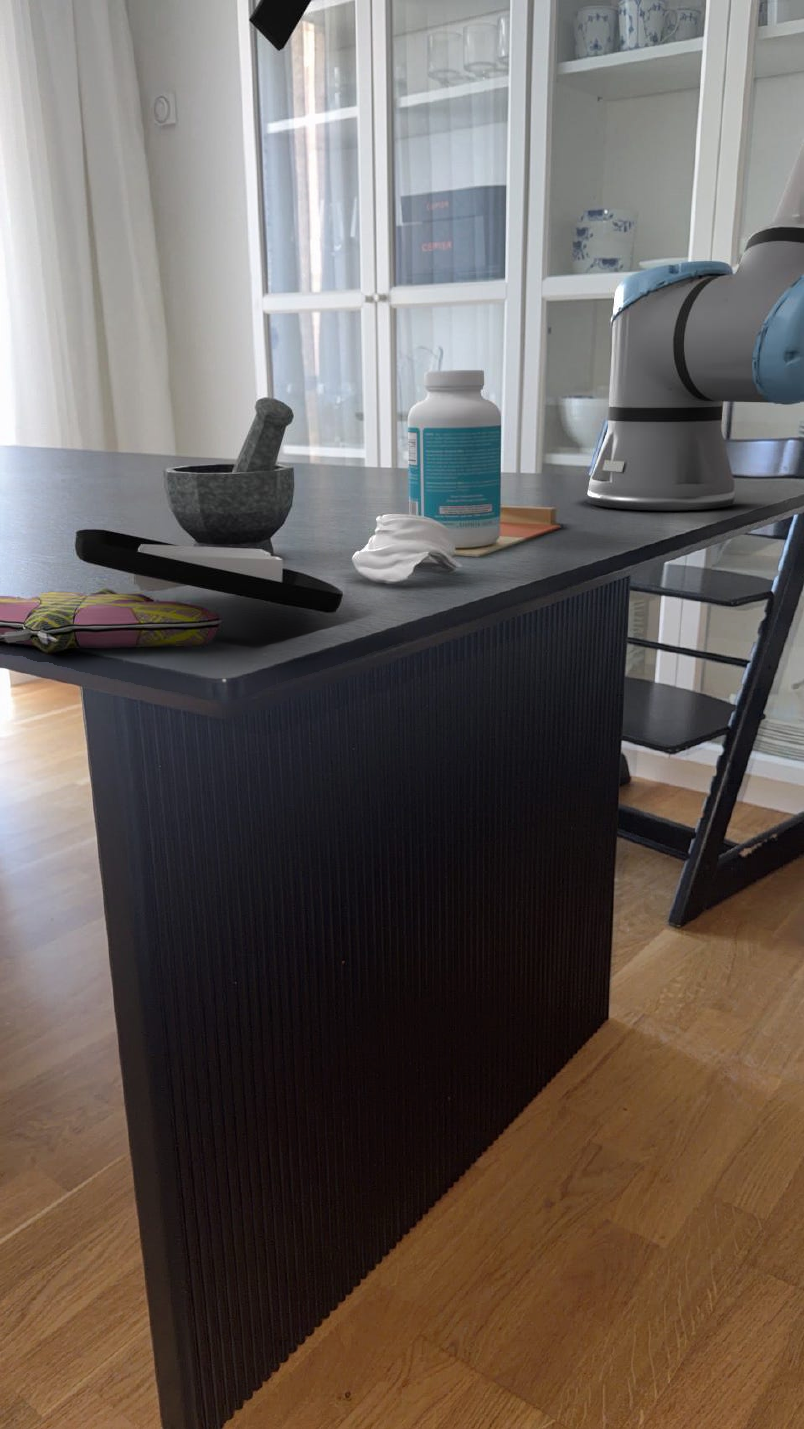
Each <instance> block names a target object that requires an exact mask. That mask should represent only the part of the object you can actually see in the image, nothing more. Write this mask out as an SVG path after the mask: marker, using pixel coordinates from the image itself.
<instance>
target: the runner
mask: <svg viewBox="0 0 804 1429" xmlns="http://www.w3.org/2000/svg"><path fill="white" fill-rule="evenodd" d="M561 528H562V525H559V524H558V525H557V524H556V525H542V524H524V523H506V522H500V537H499V539H498V540H497V541H496V542H495V543H493V544H490V545H486V546H481V547H473V548H455V554H454V555H453V556H465V557H466V556H467V557H477V558H478V557H482V556H484V555H486V554H490V553H493V552H495V551H499V550H501V549H505V548H507V547H509V546H513V545H515V544H518V543H521V542H524V541H527V540H530V539H533V538H536V537H539V536H542V535H544V534H547V533H550V532H553V531H555V530H558V529H561Z"/></svg>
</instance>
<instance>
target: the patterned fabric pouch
mask: <svg viewBox="0 0 804 1429" xmlns="http://www.w3.org/2000/svg"><path fill="white" fill-rule="evenodd" d="M221 621H222V618H220V616H219V615H217V614H215V613H214V612H213V611H212V610H209V608H206V607H203V606H201V605H196V604H191V603H185V602H179V601H168V600H157V601H156V600H154V599H153V598H151V597H149V596H147V595H145V594H140V593H117V591H115V590H113V589H110V588H103V589H99V590H97V591H95V592H92V593H90V594H86V593H79V592H73V591H55V590H54V591H46V592H43V593H40V594H37V595H35V596H32V597H30V598H24V597H18V596H11V595H0V642H3V643H4V642H5V643H8V644H17V645H25V646H32V647H37V648H38V649H39V650H41V651H42V652H44V653H48V654H49V653H59V652H62V651H65V650H68V649H117V648H118V649H119V648H123V649H124V648H145V647H147V648H148V647H150V648H151V647H192V646H200V645H201V646H202V645H204V644H208V643H209V642H211V641H212V640H213V639H214V637H215V635H216V633H217V631H218V629H219V627H220V625H221Z"/></svg>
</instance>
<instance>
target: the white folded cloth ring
mask: <svg viewBox="0 0 804 1429" xmlns="http://www.w3.org/2000/svg"><path fill="white" fill-rule="evenodd" d="M375 521H376V528H375V530H374V534H373V535H371V536H370V538H369V539H368V543H367V544H366V545H365V547H364V548H362V549H361V550H357V551H356V552H355V553H354V554H353V556H352V557H351V562H352V564H353V565H354V567H355V569H356V571H358V574H360V575H361V576H363V577H364V578H366V579H368V580H370V581H372V582H375V583H385V584H389V585H391V584H400V583H405V582H407V581H410V575H411V574H412V573H413V572H414V569H415V568H416V569H421V570H427V571H432V572H437V573H445V574H446V573H450V572H453V571H457V572H458V571H460V569H459V568H462V567H463V566H462V564H461V562H459V561H457V560H455V558H453V556H455V555H454V554H455V538H454V535H453V532H452V531H451V530H450V529H448V528H446V527H445V526H444V525H442V524H441V523H439V522H438V521H435V520H433V519H431V518H428V517H424V516H417V515H409V514H407V513H406V514H405V513H387V514H383V515H378V516H377V517H376V520H375Z"/></svg>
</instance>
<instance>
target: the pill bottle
mask: <svg viewBox="0 0 804 1429" xmlns="http://www.w3.org/2000/svg"><path fill="white" fill-rule="evenodd" d="M423 380H424V381H423V383H424V385H423V386H424V387H425V391H427V395H426V397H425V398H424V399H423V400H421V401H418V402H417V403H415V404H413V406H412V407H411V408H410V410H409V412H408V415H407V451H408V452H407V459H408V461H407V462H408V510H409V511H408V515H417V516H424V517H428V518H431V519H433V520H435V521H438V522H439V523H441V524H442V525H444V526H445V527H446V528H448V529H450V530H451V531H452V532H453V535H454V538H455V548H473V547H481V546H486V545H490V544H493V543H495V542H496V541H497V540H498V539H499V537H500V515H501V505H502V504H501V502H502V500H501V497H502V496H501V495H502V494H501V493H502V491H501V490H502V483H501V482H502V415H501V410H500V408H499V407H498V406H497V405H496V404H495V403H494V402H493V401H491V400H489V399H486V398H484V397H483V395H482V390H483V389H484V387H485V370H482V369H450V370H448V369H447V370H428V371H425V372H424V379H423Z"/></svg>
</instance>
